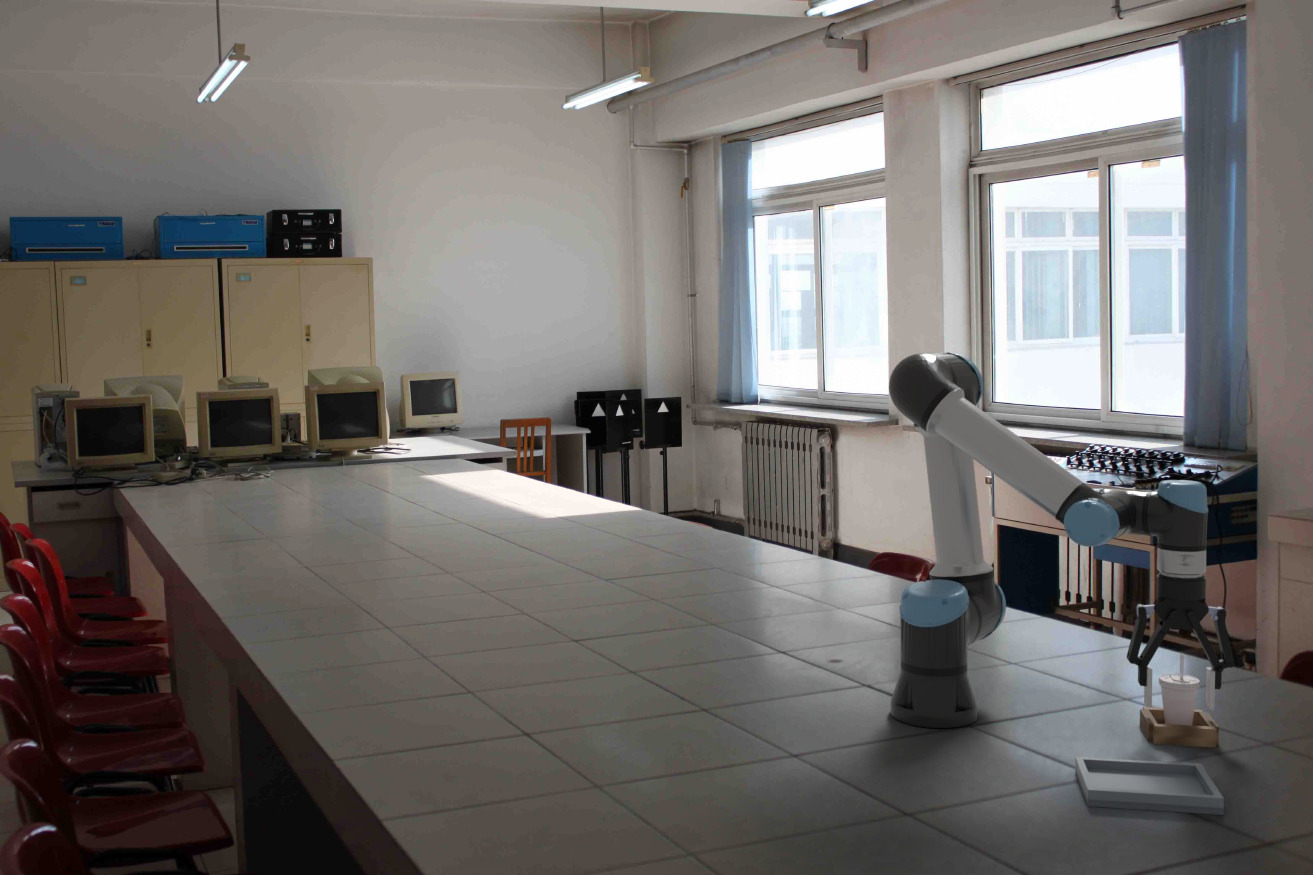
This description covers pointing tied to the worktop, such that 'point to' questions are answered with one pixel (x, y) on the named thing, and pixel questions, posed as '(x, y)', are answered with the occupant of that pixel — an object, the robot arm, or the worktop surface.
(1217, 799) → the tray
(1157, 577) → the robot arm
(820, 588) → the worktop surface
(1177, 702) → the smoothie
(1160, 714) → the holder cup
